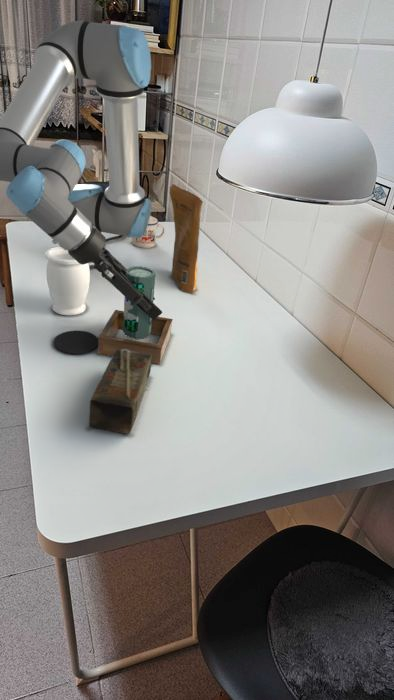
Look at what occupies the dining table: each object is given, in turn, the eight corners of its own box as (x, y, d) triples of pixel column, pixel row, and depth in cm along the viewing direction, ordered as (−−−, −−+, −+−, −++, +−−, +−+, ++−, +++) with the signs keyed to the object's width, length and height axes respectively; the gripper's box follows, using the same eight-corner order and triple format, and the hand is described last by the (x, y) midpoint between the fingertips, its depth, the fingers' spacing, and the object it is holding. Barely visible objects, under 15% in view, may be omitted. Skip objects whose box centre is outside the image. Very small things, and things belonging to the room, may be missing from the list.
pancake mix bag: (180, 296, 136) (191, 198, 122) (161, 271, 151) (168, 181, 137) (202, 295, 139) (214, 199, 124) (180, 270, 153) (190, 181, 139)
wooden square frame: (114, 325, 117) (115, 309, 115) (171, 334, 116) (172, 318, 114) (97, 354, 105) (97, 337, 103) (160, 364, 104) (161, 347, 102)
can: (121, 326, 111) (123, 266, 103) (146, 325, 113) (151, 266, 105) (126, 339, 106) (129, 277, 98) (152, 338, 108) (157, 277, 100)
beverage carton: (151, 377, 100) (153, 350, 96) (131, 437, 83) (133, 407, 80) (114, 371, 100) (115, 344, 96) (87, 430, 83) (87, 400, 80)
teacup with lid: (133, 248, 167) (134, 215, 161) (129, 239, 174) (130, 207, 168) (166, 248, 170) (169, 216, 164) (161, 240, 178) (163, 209, 172)
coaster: (63, 329, 112) (63, 327, 112) (104, 336, 112) (104, 334, 112) (46, 350, 104) (46, 348, 103) (90, 358, 103) (91, 355, 103)
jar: (79, 321, 117) (79, 264, 109) (40, 313, 118) (37, 256, 110) (96, 304, 126) (96, 250, 118) (59, 297, 127) (57, 243, 119)
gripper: (62, 235, 102) (133, 301, 115) (70, 269, 87) (151, 340, 100) (87, 211, 101) (156, 280, 114) (100, 241, 86) (177, 317, 99)
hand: (153, 308), depth 107 cm, fingers closed on can, 6 cm apart
